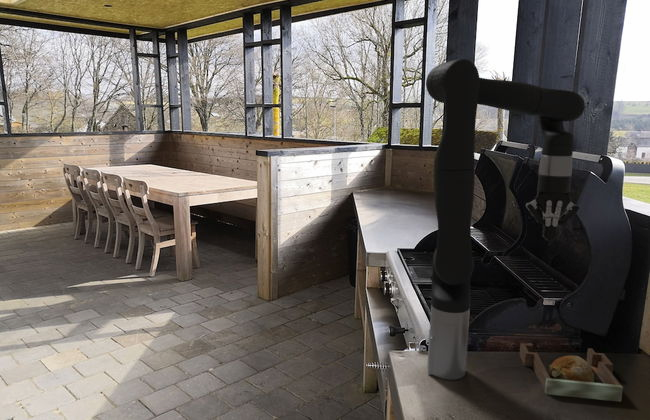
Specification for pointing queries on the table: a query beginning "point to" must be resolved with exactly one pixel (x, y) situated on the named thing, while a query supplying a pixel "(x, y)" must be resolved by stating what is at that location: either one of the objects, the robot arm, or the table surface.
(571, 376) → the bread roll
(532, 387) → the table surface
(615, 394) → the box
